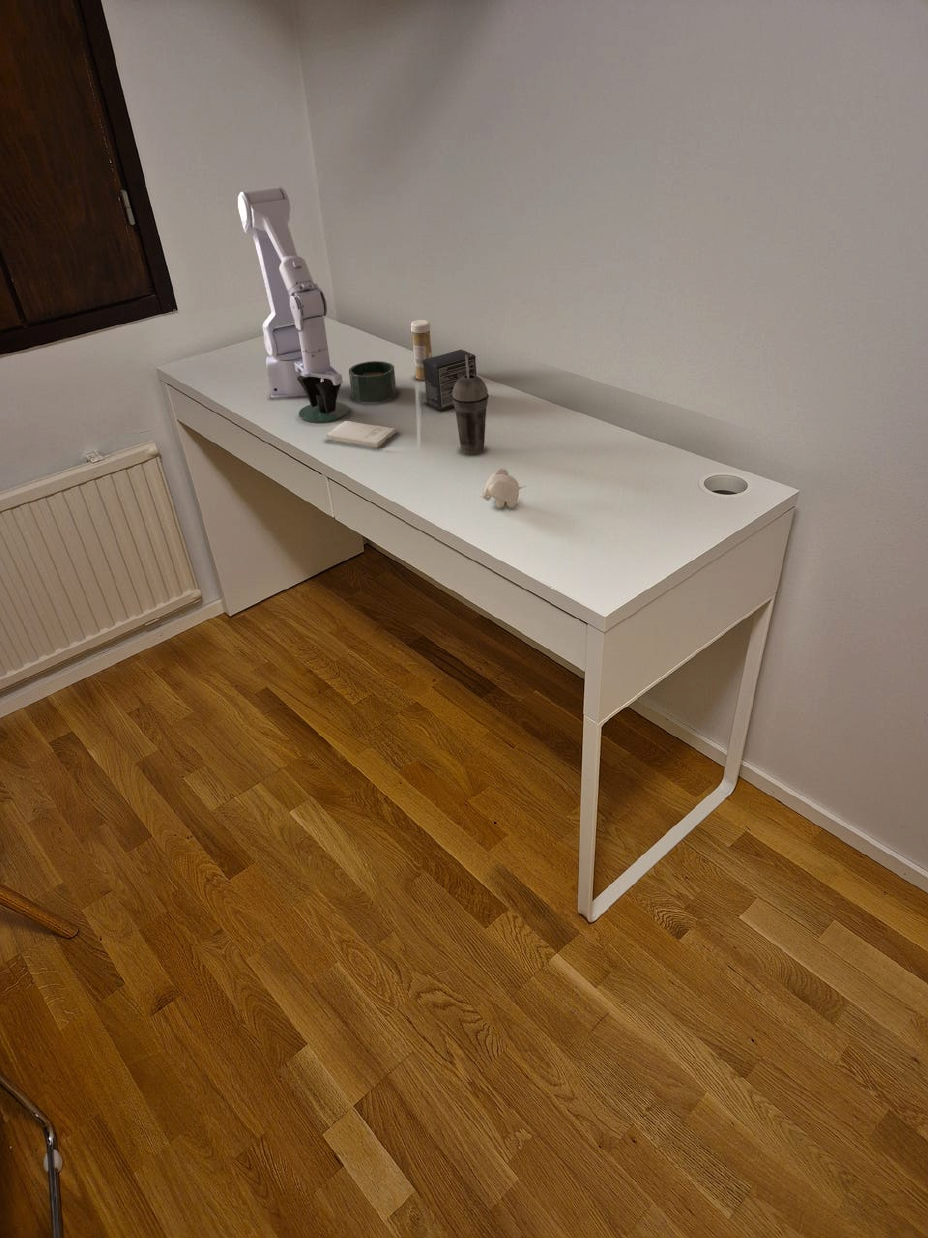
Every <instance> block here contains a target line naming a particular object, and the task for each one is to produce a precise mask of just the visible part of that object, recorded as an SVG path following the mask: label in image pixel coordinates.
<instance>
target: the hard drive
mask: <svg viewBox="0 0 928 1238" xmlns="http://www.w3.org/2000/svg"><path fill="white" fill-rule="evenodd" d="M396 433H397V428H394V427H387V426H383V425H376V424H375V425H374V424H370V423H369V424H368V423H364V422H363V423H362V422H356V421H349V420H343V422H341V423H340V424H338V425H337V426H335V428H333V429H332V430H330V431H329V432H327V433H326V435H325V438H326V441H327V440H328V441H334V442H335V441H336V442H341V443H348V444H354V445H355V444H356V445H359V446H366V447H367V446H368V447H372V448H376V449H378V450H379V449H380V448H381V445H382V444H383V443H385V442H386V440H388V439H390V438H391V437H392V436H393V435H394V434H396Z"/></svg>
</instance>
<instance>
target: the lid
mask: <svg viewBox="0 0 928 1238" xmlns="http://www.w3.org/2000/svg"><path fill="white" fill-rule="evenodd" d="M316 399H317V405H318V406H316V407H312V406H311V404H310V403H309V404H307V405H306V406H304V407H302V408H301V409H300V410H299V412H298V416H299V418H300V420H302V421H304V422H306V423H307V422H308V423H314V424H316V423H317V424H318V423H320V424H322V423H329V422H335V421H338V420H340V419H343V418H345V417H346V416H347V415H348V414H349V412H350V408H349V406H348V405H347V404H345V403H344V402H339V401H336V408H335V411H333V412H330V413H326V410H325V407H324V403H323V399H322V396H321V393H320V392H318V393H316Z"/></svg>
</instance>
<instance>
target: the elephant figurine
mask: <svg viewBox="0 0 928 1238" xmlns="http://www.w3.org/2000/svg"><path fill="white" fill-rule="evenodd" d="M525 487H526V485H523V486H520V485H519V482H518V480H517V479H516V478H515V477H513V476H511V475H509V472H508V470H507V469H506V468H498V469H497V470H496V471H494V473H493V474H492V475H491V476H489V478H488V479H487V482H486V484H485V486H484V488H483V489H482V492H481V498H483V500H485V501H486V502H489V501H491V500H492V498H493V499H494V501H495V504H496V505H495V506H496V507H497V508H498V509H501V508H504V506H505V503H506V506H507V507H508V508H510V509H513V508H515V507H516V505H517V502H518V500H519V495H520V490H521V489H523V488H525Z"/></svg>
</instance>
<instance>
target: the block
mask: <svg viewBox="0 0 928 1238" xmlns="http://www.w3.org/2000/svg"><path fill="white" fill-rule="evenodd" d="M380 374H382V372H372V373H363V376H375V375H380Z"/></svg>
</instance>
